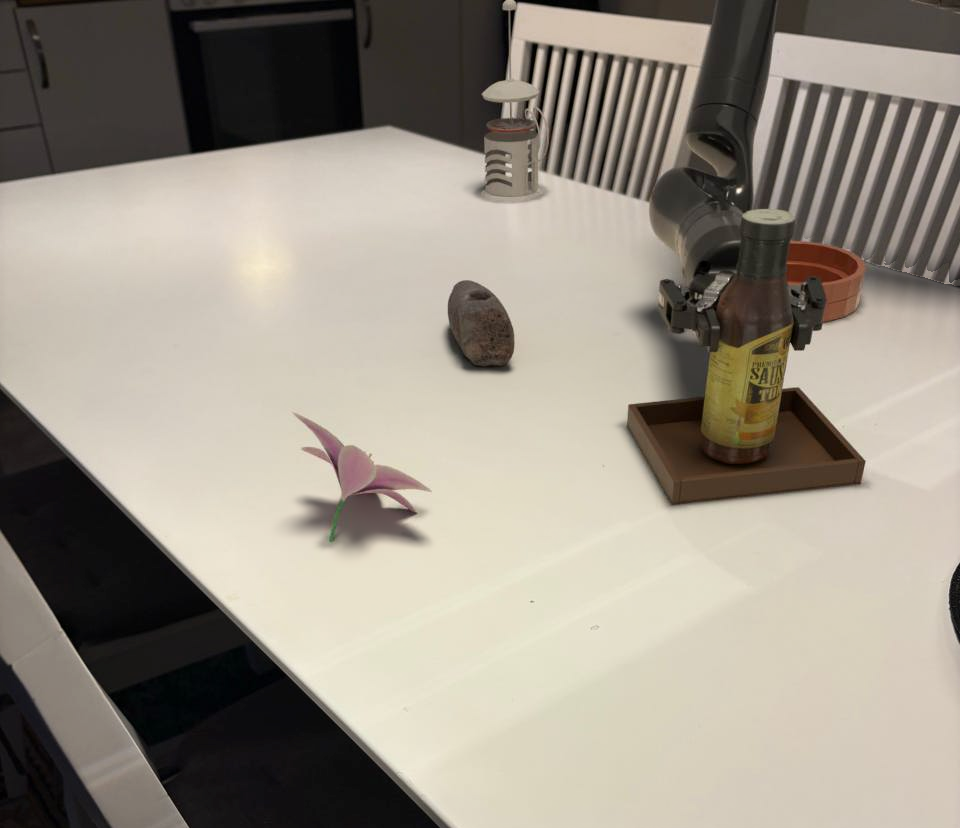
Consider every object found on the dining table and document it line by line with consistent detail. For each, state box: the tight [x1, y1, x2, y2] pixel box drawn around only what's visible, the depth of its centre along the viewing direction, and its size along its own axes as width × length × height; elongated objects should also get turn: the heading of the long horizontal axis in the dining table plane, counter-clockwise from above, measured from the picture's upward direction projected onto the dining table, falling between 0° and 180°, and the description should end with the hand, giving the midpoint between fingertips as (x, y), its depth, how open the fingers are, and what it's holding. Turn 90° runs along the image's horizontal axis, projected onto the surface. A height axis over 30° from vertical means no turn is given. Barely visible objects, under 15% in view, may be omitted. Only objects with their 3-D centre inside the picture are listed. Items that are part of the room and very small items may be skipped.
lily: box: [291, 412, 433, 543], centre depth 82 cm, size 12×12×10 cm
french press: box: [480, 0, 550, 203], centre depth 146 cm, size 10×12×25 cm
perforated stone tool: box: [447, 279, 516, 368], centre depth 109 cm, size 15×5×7 cm, turn 13°
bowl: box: [786, 240, 867, 323], centre depth 117 cm, size 15×15×4 cm
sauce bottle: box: [701, 208, 796, 464], centre depth 85 cm, size 7×6×20 cm
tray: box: [626, 386, 867, 506], centre depth 90 cm, size 16×14×2 cm
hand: (758, 339), depth 82 cm, fingers closed on sauce bottle, 6 cm apart
